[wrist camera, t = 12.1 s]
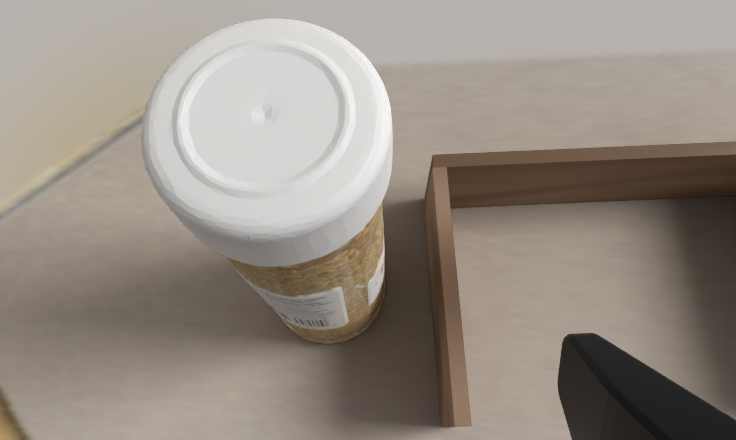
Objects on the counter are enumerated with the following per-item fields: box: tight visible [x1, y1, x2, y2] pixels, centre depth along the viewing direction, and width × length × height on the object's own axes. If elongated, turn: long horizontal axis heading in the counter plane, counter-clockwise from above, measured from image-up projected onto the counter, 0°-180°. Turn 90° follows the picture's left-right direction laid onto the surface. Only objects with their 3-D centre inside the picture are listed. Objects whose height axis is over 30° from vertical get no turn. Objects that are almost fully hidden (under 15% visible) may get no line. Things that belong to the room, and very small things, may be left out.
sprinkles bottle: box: [141, 18, 393, 344], centre depth 16 cm, size 5×5×14 cm
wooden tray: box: [424, 142, 736, 427], centre depth 20 cm, size 9×14×4 cm, turn 92°
